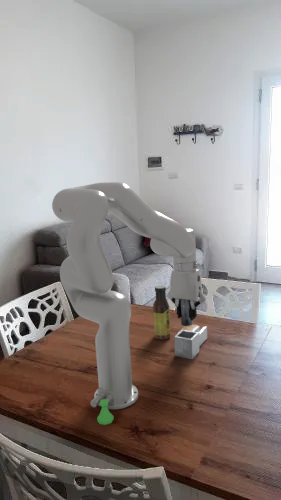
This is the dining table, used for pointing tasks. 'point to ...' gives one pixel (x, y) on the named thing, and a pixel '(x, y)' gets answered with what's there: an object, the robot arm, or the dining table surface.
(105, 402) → the game piece
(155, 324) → the sauce bottle
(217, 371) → the dining table surface
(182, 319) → the pin
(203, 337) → the leaf loose
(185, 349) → the hinge base
